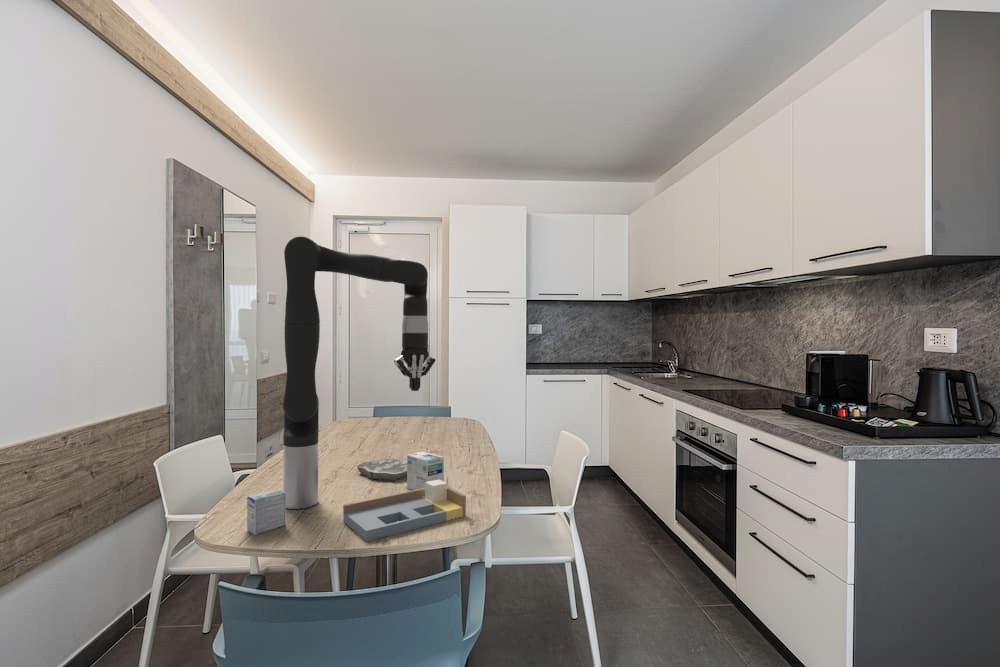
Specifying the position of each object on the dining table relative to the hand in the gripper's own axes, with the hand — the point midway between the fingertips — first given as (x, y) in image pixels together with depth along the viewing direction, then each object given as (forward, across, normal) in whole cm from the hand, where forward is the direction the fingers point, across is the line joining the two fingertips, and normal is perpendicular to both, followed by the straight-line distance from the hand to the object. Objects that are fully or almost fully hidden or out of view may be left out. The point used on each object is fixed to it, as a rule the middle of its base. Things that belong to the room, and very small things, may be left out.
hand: (414, 390), depth 151 cm
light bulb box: (+32, -7, -6) cm, 34 cm away
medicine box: (+32, +40, -2) cm, 51 cm away
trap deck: (+32, +9, +12) cm, 36 cm away
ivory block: (+30, -2, +10) cm, 31 cm away
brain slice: (+32, -5, -29) cm, 44 cm away
